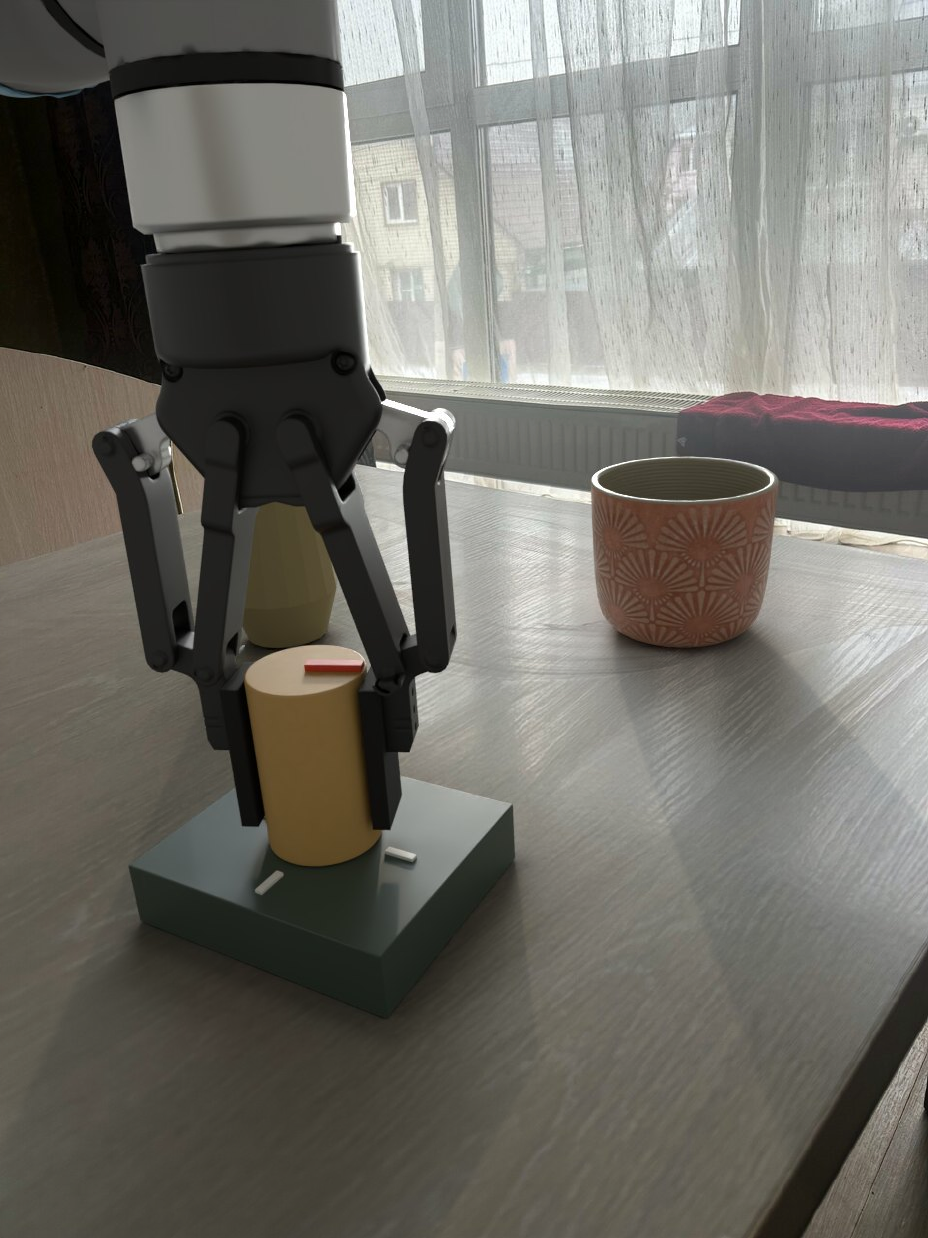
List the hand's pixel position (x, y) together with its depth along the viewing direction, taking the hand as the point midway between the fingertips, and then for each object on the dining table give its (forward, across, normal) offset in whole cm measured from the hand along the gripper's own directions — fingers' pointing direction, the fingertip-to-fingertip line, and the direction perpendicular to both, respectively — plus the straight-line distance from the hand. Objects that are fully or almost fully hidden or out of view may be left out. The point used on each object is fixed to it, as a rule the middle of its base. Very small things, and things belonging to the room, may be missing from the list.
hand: (323, 809), depth 42 cm
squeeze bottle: (+4, +11, -29) cm, 31 cm away
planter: (+4, -18, -31) cm, 36 cm away
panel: (+4, 0, 0) cm, 4 cm away
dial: (+1, 0, 0) cm, 1 cm away
